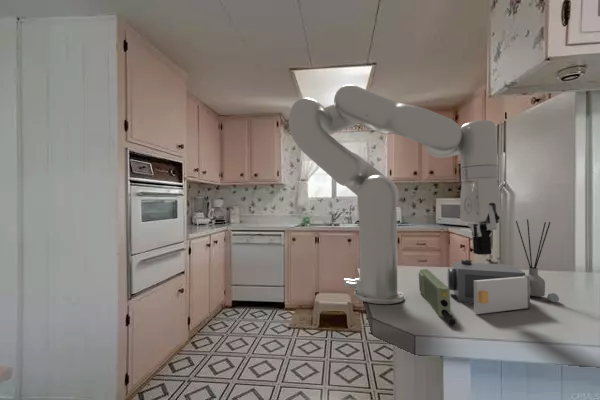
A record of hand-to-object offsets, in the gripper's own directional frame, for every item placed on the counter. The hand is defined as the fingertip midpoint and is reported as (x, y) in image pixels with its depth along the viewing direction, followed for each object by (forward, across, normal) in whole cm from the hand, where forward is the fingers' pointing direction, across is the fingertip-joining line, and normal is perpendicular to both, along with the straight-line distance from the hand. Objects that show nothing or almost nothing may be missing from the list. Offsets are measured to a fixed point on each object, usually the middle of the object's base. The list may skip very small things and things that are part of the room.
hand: (482, 253), depth 72 cm
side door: (+12, +2, +3) cm, 13 cm away
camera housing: (+13, -8, +4) cm, 15 cm away
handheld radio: (+13, 0, -11) cm, 17 cm away
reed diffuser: (+13, -10, +18) cm, 25 cm away
